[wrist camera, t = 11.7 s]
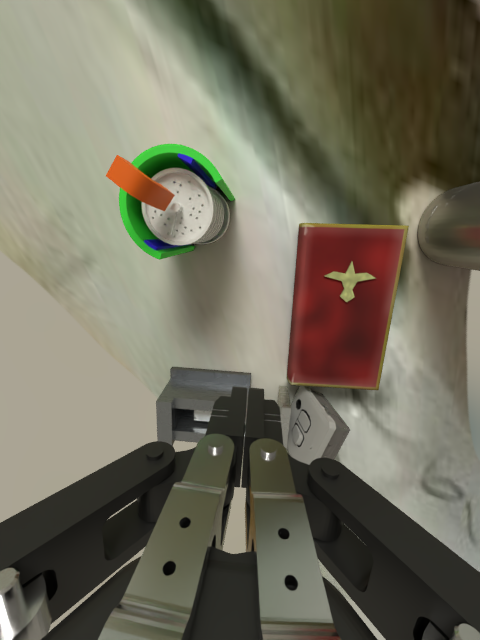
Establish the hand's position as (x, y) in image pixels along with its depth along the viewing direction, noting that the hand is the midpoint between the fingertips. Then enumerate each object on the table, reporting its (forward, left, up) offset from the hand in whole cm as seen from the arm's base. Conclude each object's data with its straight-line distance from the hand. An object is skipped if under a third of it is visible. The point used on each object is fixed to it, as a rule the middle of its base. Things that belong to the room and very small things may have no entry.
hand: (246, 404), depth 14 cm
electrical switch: (-9, +18, -27) cm, 34 cm away
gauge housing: (+6, +17, -27) cm, 32 cm away
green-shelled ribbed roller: (+8, -10, -27) cm, 30 cm away
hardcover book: (-11, +1, -28) cm, 30 cm away
